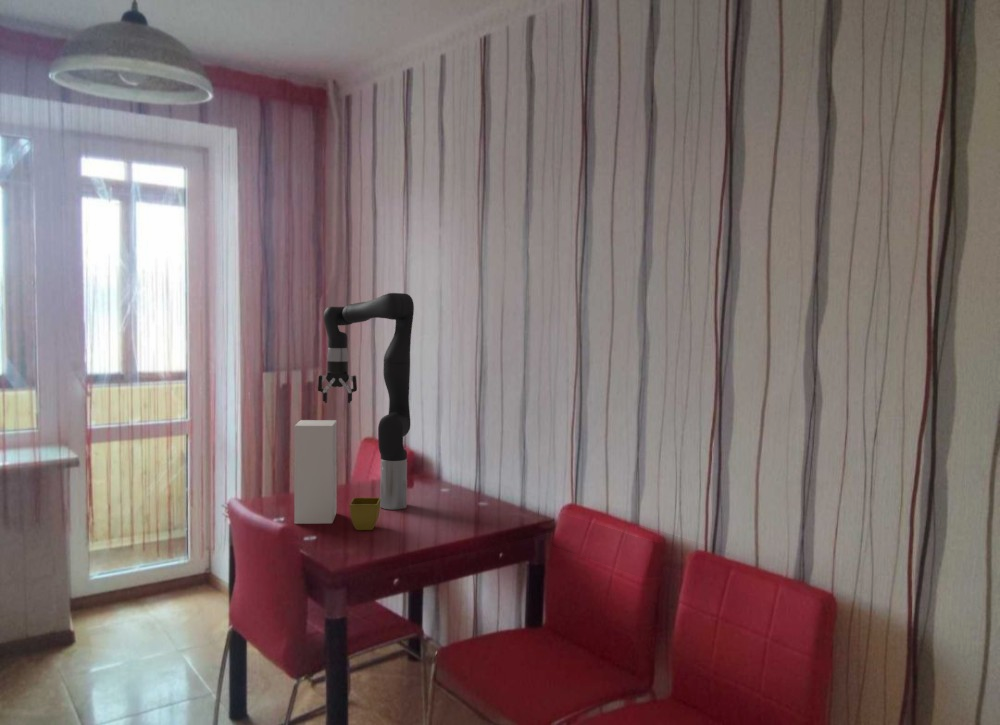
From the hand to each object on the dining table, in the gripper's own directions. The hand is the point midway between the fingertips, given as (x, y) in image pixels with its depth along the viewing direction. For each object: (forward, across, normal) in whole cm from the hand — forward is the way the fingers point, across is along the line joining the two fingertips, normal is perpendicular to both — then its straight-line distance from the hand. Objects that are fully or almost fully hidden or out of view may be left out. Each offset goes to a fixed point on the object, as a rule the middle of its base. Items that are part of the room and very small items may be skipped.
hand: (337, 402), depth 283 cm
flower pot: (+34, -14, +48) cm, 61 cm away
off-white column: (+34, +3, +36) cm, 50 cm away
